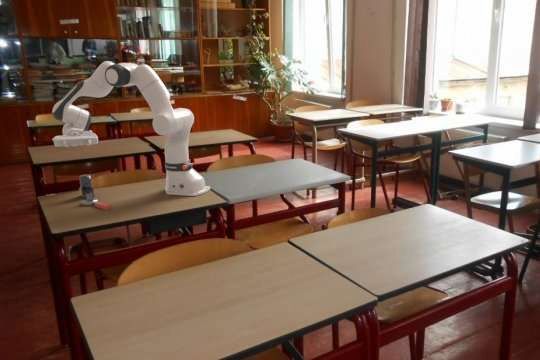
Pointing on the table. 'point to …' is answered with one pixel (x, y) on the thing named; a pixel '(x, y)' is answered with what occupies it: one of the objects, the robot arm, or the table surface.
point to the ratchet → (95, 202)
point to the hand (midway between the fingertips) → (78, 144)
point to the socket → (86, 185)
